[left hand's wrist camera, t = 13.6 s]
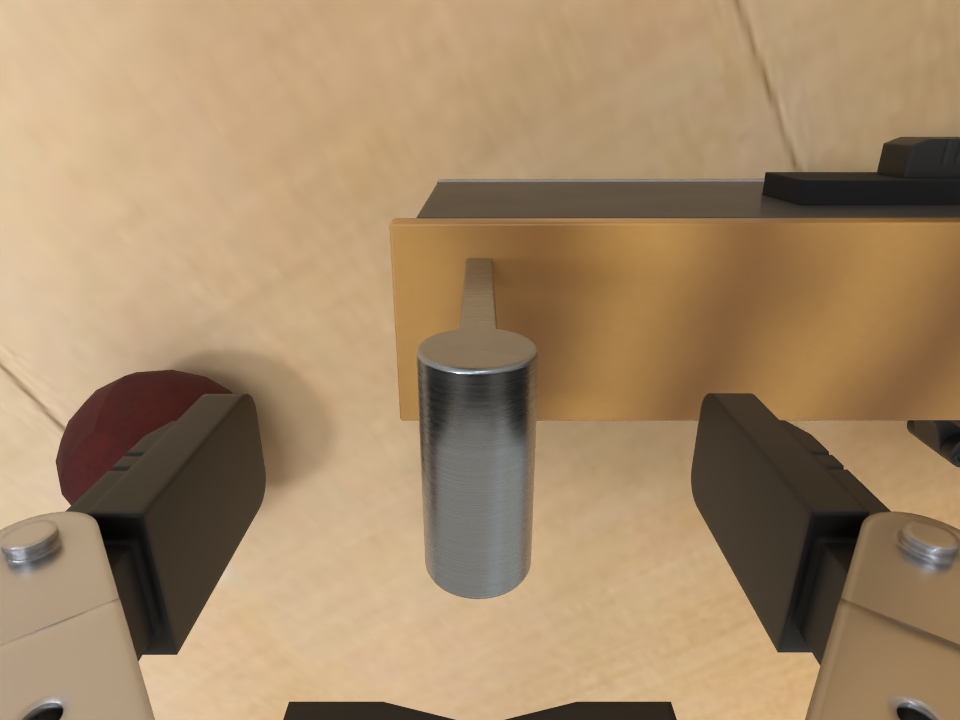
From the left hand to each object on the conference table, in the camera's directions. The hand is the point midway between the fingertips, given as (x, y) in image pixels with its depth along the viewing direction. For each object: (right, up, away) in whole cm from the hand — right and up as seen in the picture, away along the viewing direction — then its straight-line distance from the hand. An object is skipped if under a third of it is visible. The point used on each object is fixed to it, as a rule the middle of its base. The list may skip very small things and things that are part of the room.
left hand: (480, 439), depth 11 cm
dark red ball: (-14, -1, +19) cm, 23 cm away
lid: (+6, +3, +6) cm, 9 cm away
